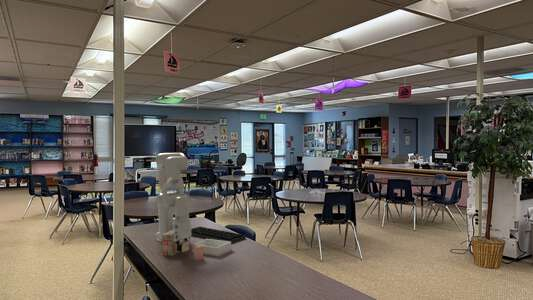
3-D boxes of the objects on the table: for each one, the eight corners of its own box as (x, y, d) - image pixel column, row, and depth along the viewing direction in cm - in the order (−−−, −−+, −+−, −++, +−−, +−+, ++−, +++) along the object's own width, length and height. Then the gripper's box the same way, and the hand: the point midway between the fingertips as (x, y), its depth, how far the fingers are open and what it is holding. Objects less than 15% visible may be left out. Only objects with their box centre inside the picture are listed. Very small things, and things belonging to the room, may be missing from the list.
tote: (192, 252, 213) (192, 244, 213) (206, 246, 226) (206, 238, 225) (217, 256, 205) (217, 247, 205) (231, 250, 217) (231, 241, 217)
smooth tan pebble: (192, 260, 200) (191, 247, 200) (197, 257, 204) (197, 245, 204) (199, 261, 198) (199, 248, 197) (205, 258, 202) (204, 246, 202)
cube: (176, 251, 206) (176, 242, 205) (182, 248, 210) (182, 240, 210) (183, 252, 203) (183, 243, 203) (189, 249, 208) (188, 241, 208)
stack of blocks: (181, 245, 231) (180, 225, 230) (190, 245, 229) (189, 226, 229) (162, 255, 210) (162, 234, 210) (172, 256, 208) (171, 234, 208)
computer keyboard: (245, 239, 242) (245, 234, 242) (229, 245, 230) (228, 239, 230) (200, 230, 270) (200, 225, 270) (183, 235, 258) (183, 229, 258)
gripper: (176, 222, 197) (177, 255, 197) (196, 215, 212) (197, 246, 212) (166, 220, 200) (167, 253, 201) (186, 214, 215) (187, 244, 216)
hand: (182, 249), depth 207 cm, fingers closed on cube, 4 cm apart
